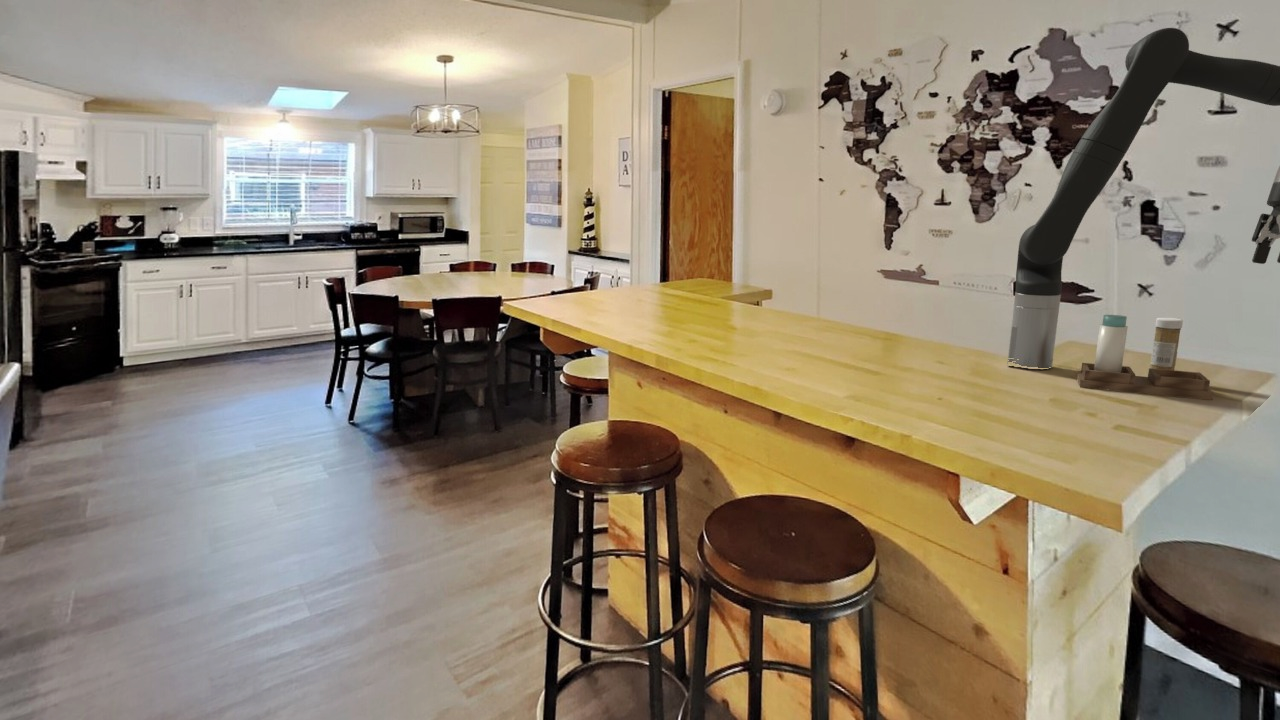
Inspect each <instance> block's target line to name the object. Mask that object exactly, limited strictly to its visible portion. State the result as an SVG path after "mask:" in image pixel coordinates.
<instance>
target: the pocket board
mask: <svg viewBox="0 0 1280 720" xmlns="http://www.w3.org/2000/svg"><path fill="white" fill-rule="evenodd" d="M1094 366H1095V363H1089V362H1088V363H1087V362H1082V363H1081V369H1080V370H1076V374H1075V375H1076V377H1077V378H1076V381H1077V380H1078V381H1077V384H1078V383H1079V384H1078V386H1080V387H1079V388H1083V387H1089V388H1088V389H1094V388H1101V389H1100V390H1104V389H1109V390H1108V391H1114V390H1116V391H1117V392H1126V393H1137V394H1147V395H1156V396H1157V395H1158V396H1169V397H1177V398H1178V397H1179V398H1187V397H1188V398H1187V399H1197V400H1200V399H1201V400H1206V401H1207V400H1210V401H1213V397H1214V391H1213V390H1212V389H1210V382H1211V381H1210V380H1209V379H1208V378H1207V377H1206V376H1204V375H1203V374H1202V373H1201V372H1200V371H1199V372H1197V371H1185V370H1184V371H1183V370H1175V369H1174V370H1163V369H1151V368H1150V367H1149V368H1148V373H1147V376H1140V375H1136V374H1135V371H1133V369H1132V368H1131V366H1128V365H1127V366H1126V365H1124V366H1123V365H1122V371H1121V373H1118V372H1106V371H1095V370H1094ZM1116 391H1115V392H1116Z"/></svg>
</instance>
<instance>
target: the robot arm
mask: <svg viewBox="0 0 1280 720" xmlns="http://www.w3.org/2000/svg"><path fill="white" fill-rule="evenodd" d="M1124 62H1125V68H1126V71H1127V72H1126V74H1125V77H1124V78H1123V80H1122V83H1121V84H1120V86H1119V87H1118V89H1117V91H1116V92H1115V94H1114V95H1113V97H1112V98H1111V99H1110V101H1108V103H1107V104H1106V105H1105V106H1104V108H1102V110H1101V111H1100V112H1099V113H1098V115H1097V116H1096V117H1095V118H1094V120H1093V121H1092V122H1091V124H1090V125H1089V126H1088V127H1087V129H1086V130H1085V132H1084V133H1083V135H1082V136H1081V138H1080V140H1079V141H1078V143H1077V144H1076V147H1075V148H1074V150H1073V151H1072V153H1071V155H1070V157H1069V159H1068V161H1067V163H1066V165H1065V167H1064V169H1063V172H1062V174H1061V178H1060V179H1059V183H1058V186H1057V188H1056V191H1055V193H1054V196H1053V197H1052V199H1051V201H1050V203H1049V204H1048V205H1047V207H1046V209H1045V210H1044V211H1043V212H1042V215H1041V216H1040V217H1039V219H1037V221H1036V223H1035V224H1033V225H1031V226H1029V227H1028V228H1026V229H1025V230H1024V232H1023V233H1022V235H1021V237H1020V240H1019V242H1018V243H1019V244H1018V251H1017V252H1018V253H1017V261H1016V272H1015V290H1014V291H1015V293H1014V294H1015V295H1014V304H1013V311H1012V320H1011V327H1010V336H1009V346H1008V347H1009V348H1008V355H1007V363H1008V362H1012V361H1016V362H1013V363H1015V364H1019V365H1021V366H1027V367H1038V368H1049V367H1052V368H1053V361H1054V352H1055V347H1056V346H1055V345H1056V344H1055V343H1056V337H1057V328H1058V321H1059V320H1058V319H1059V313H1060V305H1061V297H1062V288H1063V281H1062V280H1063V279H1062V269H1063V260H1064V256H1065V255H1066V254H1067V252H1068V250H1069V249H1070V246H1071V244H1072V241H1073V240H1074V237H1075V235H1076V233H1077V231H1078V229H1079V227H1080V225H1081V223H1082V221H1083V219H1084V217H1085V215H1086V214H1087V211H1088V210H1089V209H1090V207H1091V205H1092V204H1093V203H1094V202H1095V200H1096V199H1097V197H1098V196H1099V195H1100V194H1101V192H1102V191H1103V189H1104V188H1105V186H1106V185H1107V184H1108V182H1109V180H1110V179H1111V178H1112V176H1113V174H1115V171H1116V170H1117V168H1118V167H1119V166H1120V164H1121V161H1123V159H1124V157H1125V155H1126V154H1127V152H1128V150H1129V148H1131V147H1130V146H1131V145H1132V143H1133V142H1134V140H1135V137H1136V136H1137V134H1138V133H1139V131H1140V129H1141V127H1142V125H1143V124H1144V121H1145V120H1146V118H1147V116H1148V113H1149V112H1150V110H1151V109H1152V106H1153V105H1154V104H1155V102H1156V101H1157V99H1158V98H1159V96H1160V95H1161V94H1162V92H1163V91H1164V89H1166V87H1167V85H1168V84H1177V85H1178V84H1179V85H1184V86H1190V87H1196V88H1200V89H1204V90H1209V91H1213V92H1216V93H1221V94H1225V95H1229V96H1232V97H1234V98H1235V97H1236V98H1240V99H1243V100H1247V101H1250V102H1255V103H1259V104H1263V105H1266V106H1273V107H1274V106H1275V107H1277V106H1280V65H1276V64H1272V63H1268V62H1265V61H1259V60H1253V59H1243V58H1233V57H1222V56H1214V55H1208V54H1204V53H1200V52H1196V51H1194V50H1190V41H1189V39H1188V36H1187V35H1186V33H1185V32H1184V31H1183V30H1181V29H1179V28H1177V27H1164V28H1161V29H1160V28H1159V29H1157V30H1154V31H1153V32H1151V33H1148V34H1147V35H1146V36H1144V37H1142V38H1141V39H1139V40H1137V42H1135V43H1134V44H1133V46H1131V48H1130V49H1129V50H1128V52H1127V54H1126V57H1125V61H1124ZM1271 185H1272V186H1271V188H1270V191H1269V195H1268V197H1267V200H1266V205H1267V206H1269V207H1272V211H1271V213H1269V214H1268V213H1261V214H1260V215H1259V219H1258V221H1257V225H1256V227H1255V229H1254V232H1253V236H1252V237H1251V242H1254V243H1255V245H1256V248H1255V251H1254V253H1253V257H1252V259H1251V261H1252V263H1253V264H1260V265H1264V264H1266V263H1267V259H1268V258H1269V255H1270V251H1271V248H1272V245H1273V244H1274V242H1275V241H1276V240H1277V239H1280V165H1279V166H1278V168H1277V171H1276V173H1275V176H1274V180H1273V183H1272V184H1271ZM1278 253H1279V254H1278V257H1277V259H1276V262H1277V263H1278V264H1280V252H1278ZM1008 358H1014V359H1008ZM1017 359H1019V360H1017ZM1008 360H1009V361H1008Z"/></svg>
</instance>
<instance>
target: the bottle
mask: <svg viewBox="0 0 1280 720" xmlns="http://www.w3.org/2000/svg"><path fill="white" fill-rule="evenodd" d="M1127 318H1128V317H1127V316H1126V315H1121V314H1120V315H1119V314H1104V315H1103V317H1102V323H1101V324H1099V329H1098V330H1099V331H1098V337H1097V344H1096V352H1095V358H1094V359H1095V360H1094V364H1095V366H1094V370H1095V371H1106V372H1118V373H1121V371H1122V366H1123V363H1124V357H1125V349H1126V343H1127V335H1128V329H1129V328H1128V327H1129V325H1127Z"/></svg>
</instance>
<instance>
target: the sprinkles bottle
mask: <svg viewBox="0 0 1280 720" xmlns="http://www.w3.org/2000/svg"><path fill="white" fill-rule="evenodd" d="M1183 322H1184V321H1183V319H1181V318H1176V317H1157V318H1156V320H1155V333H1154V338H1153V339H1154V340H1153V344H1152V351H1151V356H1150V367H1149V368H1151V369H1163V370H1175V367H1176V365H1177V357H1178V348H1179V342H1180V334H1181V330H1182V328H1183Z"/></svg>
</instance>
